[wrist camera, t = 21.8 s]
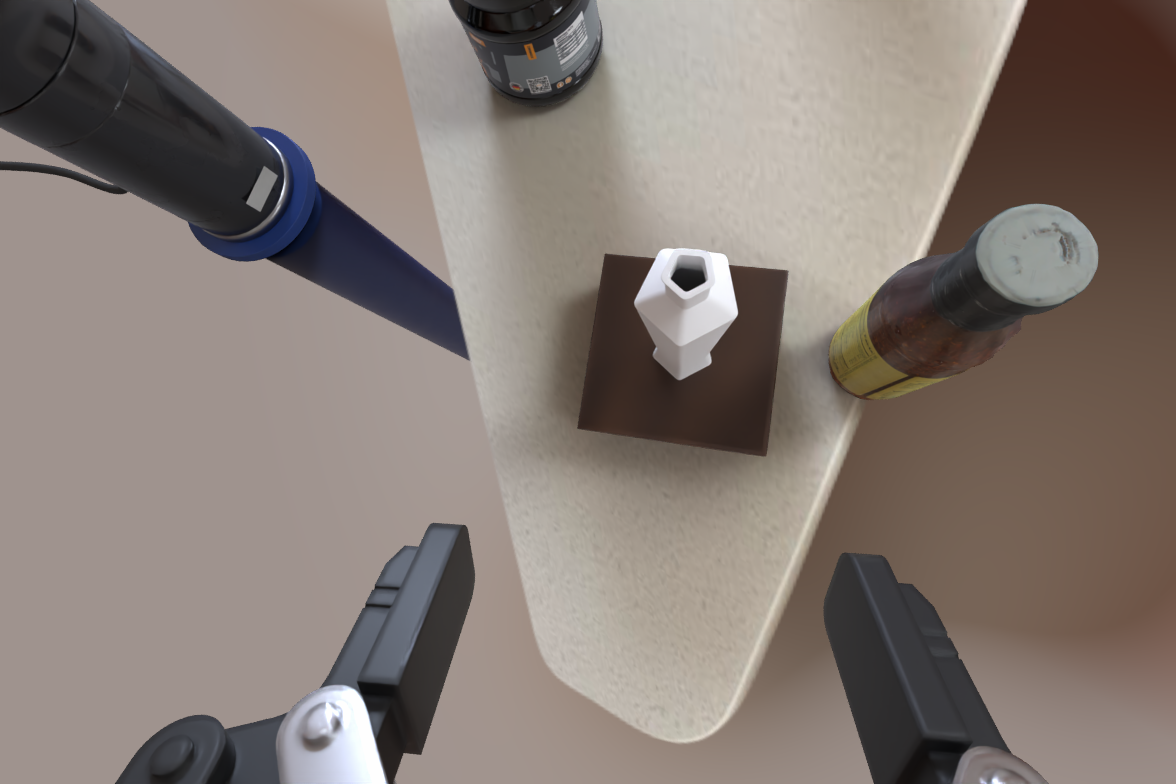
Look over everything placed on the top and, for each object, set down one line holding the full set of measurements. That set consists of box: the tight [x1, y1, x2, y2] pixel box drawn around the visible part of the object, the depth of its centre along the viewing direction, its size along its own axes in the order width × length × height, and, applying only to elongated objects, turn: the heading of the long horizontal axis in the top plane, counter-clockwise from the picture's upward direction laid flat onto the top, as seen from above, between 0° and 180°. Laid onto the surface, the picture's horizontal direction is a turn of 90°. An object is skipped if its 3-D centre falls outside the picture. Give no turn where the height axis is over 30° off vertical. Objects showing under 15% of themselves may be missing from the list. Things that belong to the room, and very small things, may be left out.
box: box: [577, 254, 788, 457], centre depth 39 cm, size 12×12×5 cm
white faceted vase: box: [634, 248, 738, 380], centre depth 29 cm, size 5×4×15 cm
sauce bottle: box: [828, 204, 1098, 400], centre depth 29 cm, size 6×6×20 cm
